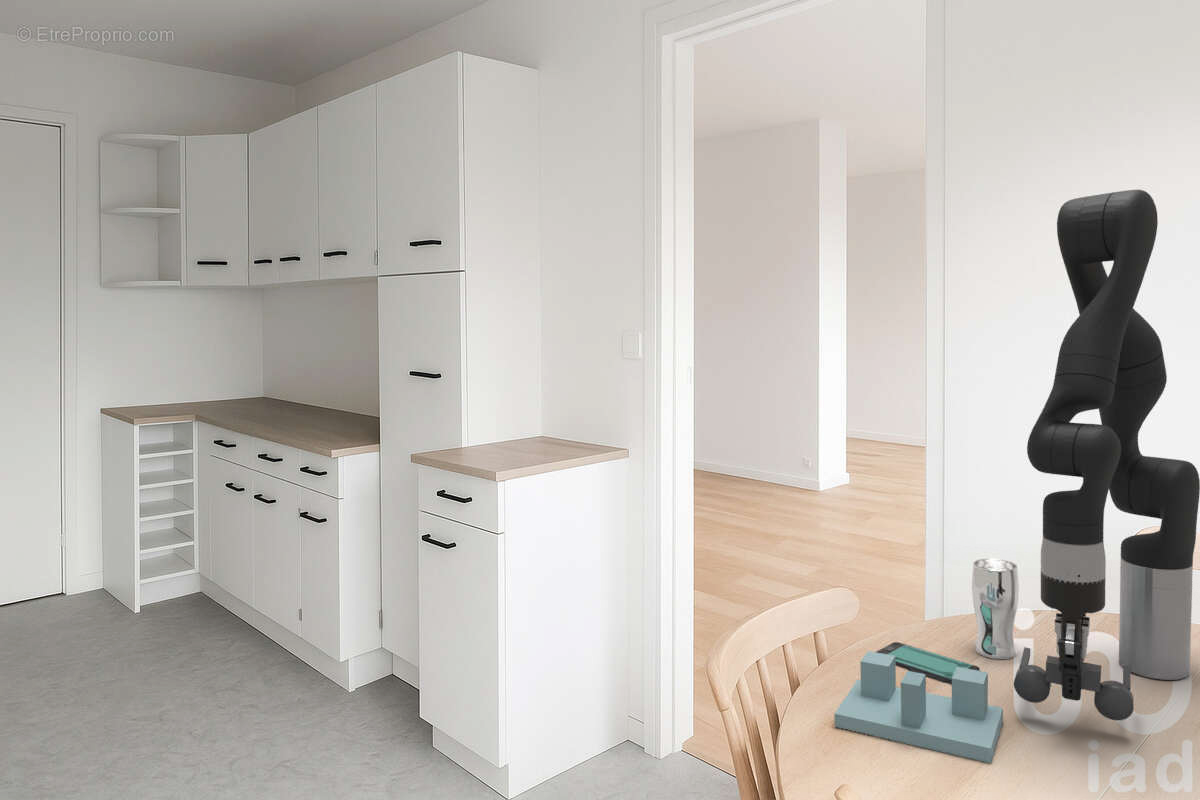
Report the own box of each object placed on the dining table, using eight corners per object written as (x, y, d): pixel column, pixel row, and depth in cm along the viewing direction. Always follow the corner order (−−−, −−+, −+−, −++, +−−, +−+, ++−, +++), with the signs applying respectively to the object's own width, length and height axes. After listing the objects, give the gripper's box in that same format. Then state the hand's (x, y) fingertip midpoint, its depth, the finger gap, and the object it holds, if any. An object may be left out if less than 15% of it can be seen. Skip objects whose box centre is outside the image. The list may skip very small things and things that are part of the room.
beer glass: (1023, 661, 133) (1024, 571, 131) (977, 660, 134) (977, 571, 133) (1011, 644, 140) (1011, 558, 138) (967, 642, 141) (967, 557, 140)
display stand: (858, 691, 126) (857, 641, 125) (1003, 721, 115) (1003, 666, 114) (834, 727, 116) (833, 672, 115) (990, 763, 105) (990, 703, 104)
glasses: (1020, 670, 123) (1022, 631, 122) (1132, 693, 115) (1134, 651, 114) (1013, 698, 115) (1014, 656, 114) (1132, 724, 107) (1135, 679, 106)
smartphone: (895, 640, 142) (981, 666, 130) (895, 647, 142) (981, 673, 130) (870, 653, 137) (957, 681, 125) (871, 660, 137) (957, 689, 126)
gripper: (1104, 591, 102) (1103, 723, 104) (1106, 558, 114) (1105, 678, 116) (1036, 583, 106) (1036, 710, 108) (1044, 552, 118) (1044, 668, 120)
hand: (1071, 693), depth 112 cm, fingers closed on glasses, 2 cm apart
